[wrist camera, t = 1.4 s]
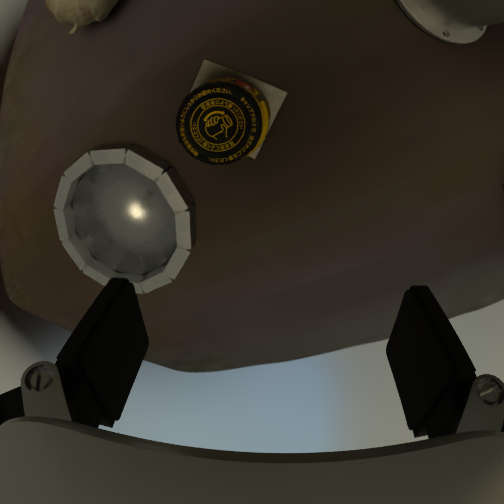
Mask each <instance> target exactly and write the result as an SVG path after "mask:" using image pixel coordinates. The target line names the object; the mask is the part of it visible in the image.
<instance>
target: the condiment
mask: <svg viewBox="0 0 504 504" xmlns="http://www.w3.org/2000/svg"><path fill="white" fill-rule="evenodd" d="M286 95H287V92H285V91H282V90H280V89H278V88H276V87H273V86H271V85H269V84H267V83H264V82H262V81H260V80H257V79H255V78H252V77H250V76H247V75H245V74H242V73H240V72H237V71H235V70H232V69H230V68H227V67H224V66H221V65H219V64H216V63H213V62H210V61H207V60H204V61H203V64H202V66H201V68H200V71H199V73H198V75H197V78H196V80H195V82H194V85H193V87H192V89H191V92H190V93H189V94H188V95H187V96H186V97H185V99H184V100H183V102H182V104H181V105H180V108H179V110H178V113H177V117H176V131H177V135H178V139H179V142H180V143H181V144H182V146H183V147H184V149H185V150H186V151H187V152H188V153H189V154H190V155H191V156H192V157H194V158H195V159H197V160H200V161H202V162H205V163H208V164H211V165H217V164H220V165H224V164H230V163H234V162H236V161H238V160H240V159H242V158H244V157H246V156H249V157H252V158H254V159H255V158H256V156H257V154H258V152H259V150H260V148H261V146H262V144H263V141H264V139H265V137H266V135H267V133H268V131H269V129H270V127H271V125H272V123H273V121H274V119H275V117H276V115H277V113H278V111H279V109H280V106H281V105H282V103H283V101H284V99H285V97H286Z"/></svg>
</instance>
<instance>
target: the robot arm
mask: <svg viewBox="0 0 504 504" xmlns="http://www.w3.org/2000/svg"><path fill="white" fill-rule="evenodd" d="M396 1H397V3H398V5H399V6H400V8H401V9H402V10H403V11H404V13H405V14H406V15H407V16H408V18H410V19H411V20H412V21H413V22H414V23H415V24H416V25H417V26H418V27H419V28H421V29H422V30H423V31H424V32H426V33H427V34H429V35H431V36H432V37H434V38H436V39H439V40H441V41H443V42H447V43H451V44H467V43H471V42H474V41H476V40H478V39H479V38H480V37H481V36H482V35H483V34H484V32H485V30H486V28H487V25H492V24H498V23H504V0H396ZM443 34H444V35H443ZM148 345H149V339H148V335H147V332H146V328H145V325H144V321H143V318H142V314H141V311H140V307H139V303H138V299H137V295H136V291H135V287H134V284H133V283H130V281H129V280H128V279H127V278H117V277H113V278H111V279H110V280H109V281H108V283H107V284H106V285H105V287H104V288H103V290H102V291H101V292H100V294H99V295H98V297H97V298H96V299H95V301H94V302H93V304H92V305H91V306H90V308H89V309H88V311H87V312H86V314H85V315H84V316H83V318H82V319H81V321H80V322H79V324H78V325H77V327H76V328H75V330H74V331H73V333H72V334H71V336H70V337H69V339H68V340H67V342H66V343H65V345H64V346H63V348H62V350H61V352H60V353H59V354H58V356H57V361H56V363H55V365H54V364H53V363H51V362H49V361H40V362H36V363H34V364H32V365H31V366H29V367H28V368H27V369H26V370H25V372H24V373H23V375H22V378H21V386H20V387H17V388H15V389H13V390H10V391H8V392H5V393H3V394H1V395H0V504H504V383H503V382H502V381H501V380H500V379H499V378H497V377H496V376H493V375H490V374H483V375H480V376H478V377H476V374H475V371H476V369H475V367H474V365H473V363H472V361H471V359H470V358H469V356H468V354H467V352H466V350H465V348H464V346H463V345H462V343H461V341H460V339H459V337H458V335H457V334H456V332H455V330H454V329H453V327H452V325H451V323H450V322H449V320H448V318H447V316H446V315H445V313H444V311H443V310H442V308H441V307H440V305H439V303H438V302H437V300H436V298H435V297H434V295H433V294H432V292H431V291H430V289H429V287H428V286H411V287H410V289H409V290H406V292H405V294H404V297H403V300H402V303H401V306H400V309H399V312H398V315H397V318H396V321H395V324H394V327H393V330H392V333H391V335H390V338H389V341H388V344H387V347H386V354H387V358H388V361H389V364H390V367H391V370H392V373H393V377H394V380H395V383H396V386H397V390H398V393H399V396H400V399H401V403H402V407H403V410H404V414H405V417H406V421H407V425H408V427H409V429H410V430H413V433H414V437H415V438H416V437H421V436H425V435H428V438H429V439H426V440H421V441H415V442H410V443H404V444H398V445H391V446H384V447H377V448H369V449H360V450H350V451H337V452H320V453H252V452H236V451H223V450H213V449H204V448H196V447H188V446H181V445H174V444H168V443H163V442H157V441H152V440H147V439H142V438H137V437H133V436H128V435H124V434H119V433H115V432H111V431H107V430H103V429H99V428H98V427H99V424H100V425H104V426H107V427H111V428H112V427H113V424H114V422H115V420H116V421H118V420H119V419H120V417H121V414H122V411H123V409H124V406H125V403H126V401H127V398H128V396H129V393H130V391H131V388H132V386H133V383H134V381H135V378H136V376H137V373H138V371H139V368H140V366H141V363H142V361H143V359H144V356H145V354H146V351H147V349H148Z"/></svg>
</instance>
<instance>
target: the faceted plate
mask: <svg viewBox="0 0 504 504" xmlns="http://www.w3.org/2000/svg"><path fill="white" fill-rule="evenodd" d="M170 165H171V164H170V163H168V162H167V161H165V160H163V159H162V158H160V157H158V156H156V155H155V154H153V153H151V152H149V151H147V150H146V149H144V148H142V147H140V146H139V145H137V146H135V144H131V145H115V146H101V147H99V148H96V149H94V150H91V151H89V152H87V153H86V154H84V155H83V156H82V157H81V158H80V159H79V160H77V161H76V162H75V163H74V164H73V165H72V166H71V167H70V168H68V169H67V170H66V171H65V172H64V175H62V177H61V181H60V184H59V188H58V191H57V195H56V199H55V203H54V207H55V208H54V214H55V219H56V224H57V228H58V233H59V237H60V241H64V242H62V245H63V246H64V248H65V249H66V251H67V252H68V254H69V255H70V256H71V258H72V259H73V261H74V262H75V263H76V265H77V266H78V267H79V269H80V270H82V269H83V273H85V274H86V275H88V276H89V277H91V278H92V279H94V280H96V281H97V282H99V283H100V284H102V285H104V286H105V285H106V284H107V283H108V281H109V280H110V279H111V278H113V277H117V278H127V279H128V280H129V281H130V283H133V284H134V287H135V291H136V293H140V294H143V293H148V292H150V291H152V290H154V289H157V288H159V287H161V286H163V285H166V284H168V283H170V282H172V281H173V279H175V278H176V276H177V274H178V273H179V271H180V269H181V268H182V266H183V264H184V262H185V261H186V259H187V257H188V256H189V254H190V252H191V250H192V248H193V246H194V244H195V241H196V223H195V203H192V202H193V201H194V200H193V198H192V196H191V195H190V193H189V191H188V190H187V188H186V186H185V185H184V183H183V181H182V180H181V178H180V176H179V175H178V173H177V171H176V170H175V168H174V166H173V167H171V168H170V169H169V167H170ZM82 177H83V178H82ZM171 256H172V257H171ZM170 258H171V259H170ZM169 259H170V261H168V260H169ZM167 261H168V262H167Z"/></svg>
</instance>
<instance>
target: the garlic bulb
mask: <svg viewBox="0 0 504 504" xmlns="http://www.w3.org/2000/svg"><path fill="white" fill-rule="evenodd" d="M118 1H119V0H46V6H47V8H48V9H49V10H50V12H51V13H52V14H53V15H54V16H55V17H56V19H57V20H58V21H59V22H61V23H64V24H74V27H73V29H72V30H71V31H70V32H69V33H70V34H74V33H76V32H77V31H78V29H79V27H81V26H86V25H89V24H90V23H92V22H94V21H99V22H100V21H102V20H103V19H105V18H106V17H107V16H108V15H109V12H110V11H111V10H112V8H113V7H114V6H115V5H116V3H117V2H118Z"/></svg>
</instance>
